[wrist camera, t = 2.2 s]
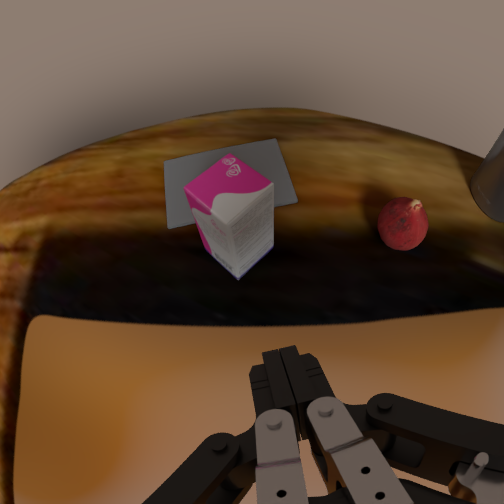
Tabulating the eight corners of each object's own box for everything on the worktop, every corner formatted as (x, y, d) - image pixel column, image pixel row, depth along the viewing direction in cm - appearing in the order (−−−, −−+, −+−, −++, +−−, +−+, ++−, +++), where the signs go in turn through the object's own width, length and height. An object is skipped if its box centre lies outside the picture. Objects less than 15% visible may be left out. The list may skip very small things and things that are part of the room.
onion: (393, 271, 34) (419, 238, 27) (360, 235, 37) (378, 195, 29) (422, 244, 36) (450, 208, 28) (391, 211, 38) (411, 171, 31)
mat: (275, 141, 44) (275, 138, 43) (297, 202, 39) (297, 200, 39) (164, 163, 43) (163, 161, 43) (168, 229, 38) (167, 227, 38)
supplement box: (275, 245, 37) (276, 183, 26) (238, 281, 35) (223, 228, 25) (240, 216, 39) (229, 149, 28) (203, 248, 37) (178, 188, 27)
